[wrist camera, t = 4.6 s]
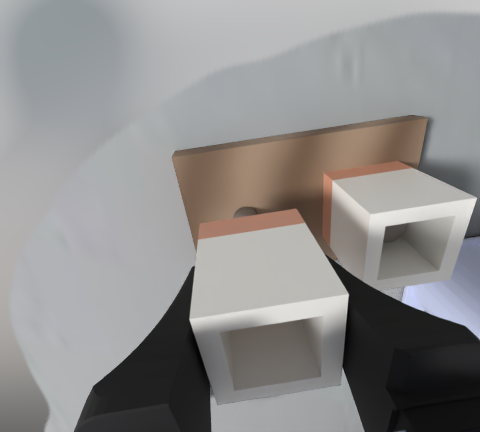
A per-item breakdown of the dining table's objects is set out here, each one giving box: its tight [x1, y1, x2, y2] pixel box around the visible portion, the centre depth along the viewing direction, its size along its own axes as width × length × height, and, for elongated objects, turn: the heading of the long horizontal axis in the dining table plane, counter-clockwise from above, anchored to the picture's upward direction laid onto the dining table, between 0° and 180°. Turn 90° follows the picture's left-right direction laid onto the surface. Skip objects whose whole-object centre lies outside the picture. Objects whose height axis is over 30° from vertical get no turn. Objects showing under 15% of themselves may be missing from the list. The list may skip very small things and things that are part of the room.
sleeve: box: [189, 209, 349, 405], centre depth 12 cm, size 5×5×6 cm
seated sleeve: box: [322, 161, 477, 291], centre depth 16 cm, size 5×5×6 cm
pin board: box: [172, 115, 428, 260], centre depth 17 cm, size 16×10×6 cm, turn 98°
